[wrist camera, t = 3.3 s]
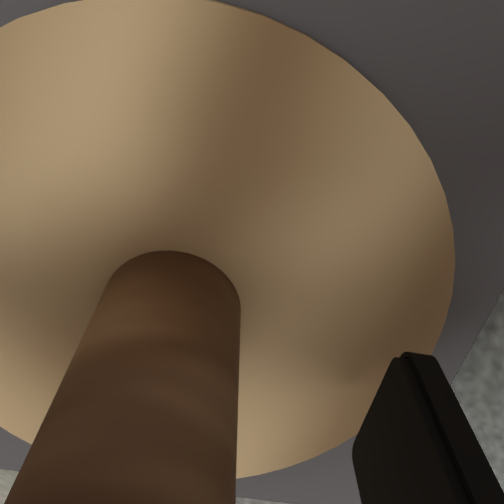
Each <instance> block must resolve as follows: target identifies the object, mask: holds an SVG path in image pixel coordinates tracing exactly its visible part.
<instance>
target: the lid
mask: <svg viewBox="0 0 504 504" xmlns="http://www.w3.org/2000/svg"><path fill="white" fill-rule="evenodd" d="M454 272H455V248H454V233H453V226H452V222H451V217H450V213H449V209H448V204H447V200H446V196H445V193H444V190H443V188H442V185H441V183H440V181H439V178H438V176H437V173H436V171H435V168H434V166H433V163H432V161H431V159H430V157H429V156H428V154H427V153H426V151H425V149H424V148H423V146H422V144H421V143H420V141H419V139H418V138H417V136H416V134H415V133H414V131H413V129H412V128H411V126H410V125H409V124H408V123H407V121H406V120H405V119H404V118H403V117H402V115H401V114H400V113H399V112H398V111H397V110H396V108H395V107H394V106H393V105H392V104H391V102H390V101H389V100H388V99H387V98H386V96H385V95H384V94H383V93H382V92H381V91H380V90H378V89H377V88H376V87H375V86H374V85H373V84H372V83H370V82H369V81H368V80H367V79H366V78H365V77H364V76H363V75H361V74H360V73H359V72H358V71H357V70H356V69H355V68H353V67H352V66H351V65H350V64H349V63H348V62H347V61H345V60H344V59H343V58H342V57H340V56H339V55H337V54H336V53H334V52H333V51H331V50H330V49H328V48H327V47H325V46H323V45H322V44H320V43H319V42H317V41H316V40H314V39H313V38H311V37H310V36H308V35H306V34H305V33H303V32H301V31H299V30H296V29H294V28H292V27H290V26H288V25H286V24H283V23H281V22H279V21H277V20H275V19H272V18H270V17H268V16H266V15H264V14H261V13H257V12H254V11H251V10H247V9H244V8H241V7H237V6H234V5H230V4H227V3H224V2H220V1H216V0H82V1H76V2H69V3H63V4H60V5H57V6H54V7H51V8H48V9H45V10H42V11H39V12H36V13H32V14H29V15H26V16H23V17H20V18H17V19H15V20H14V21H12V22H10V23H8V24H6V25H4V26H2V27H0V427H2V428H3V429H5V430H6V431H8V432H9V433H11V434H13V435H15V436H16V437H18V438H20V439H22V440H24V441H26V442H28V443H30V444H31V448H30V450H29V452H28V454H27V456H26V458H25V460H24V463H23V465H22V467H21V469H20V471H19V473H18V475H17V478H16V480H15V482H14V484H13V486H12V488H11V490H10V492H9V495H8V497H7V499H6V501H5V503H4V504H235V499H236V479H238V478H244V477H250V476H255V475H261V474H265V473H268V472H272V471H276V470H280V469H283V468H287V467H290V466H293V465H295V464H298V463H301V462H303V461H306V460H309V459H312V458H314V457H316V456H318V455H320V454H322V453H324V452H326V451H328V450H331V449H333V448H335V447H337V446H338V445H340V444H342V443H343V442H345V441H347V440H348V439H350V438H351V437H353V436H355V435H356V434H358V432H359V430H360V428H361V425H362V423H363V421H364V419H365V417H366V415H367V412H368V410H369V408H370V406H371V404H372V402H373V399H374V397H375V395H376V393H377V391H378V388H379V386H380V384H381V382H382V380H383V378H384V375H385V373H386V371H387V369H388V367H389V364H390V362H391V361H392V359H393V358H394V357H400V356H401V354H402V353H404V352H413V353H420V354H426V355H431V353H432V352H433V350H434V348H435V346H436V343H437V341H438V338H439V336H440V334H441V331H442V329H443V326H444V324H445V321H446V317H447V313H448V309H449V305H450V301H451V297H452V293H453V283H454Z"/></svg>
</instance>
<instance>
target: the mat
mask: <svg viewBox="0 0 504 504" xmlns="http://www.w3.org/2000/svg"><path fill="white" fill-rule="evenodd" d="M76 1H82V0H0V27H2V26H4V25H6V24H8V23H10V22H12V21H14V20H15V19H17V18H20V17H23V16H26V15H29V14H32V13H36V12H39V11H42V10H45V9H48V8H51V7H54V6H57V5H60V4H63V3H69V2H76ZM216 1H220V2H224V3H227V4H230V5H234V6H237V7H241V8H244V9H247V10H251V11H254V12H257V13H261V14H264V15H266V16H268V17H270V18H272V19H275V20H277V21H279V22H281V23H283V24H286V25H288V26H290V27H292V28H294V29H296V30H299V31H301V32H303V33H305V34H306V35H308V36H310V37H311V38H313V39H314V40H316V41H317V42H319V43H320V44H322V45H323V46H325V47H327V48H328V49H330V50H331V51H333V52H334V53H336V54H337V55H339V56H340V57H342V58H343V59H344V60H345V61H347V62H348V63H349V64H350V65H351V66H352V67H353V68H355V69H356V70H357V71H358V72H359V73H360V74H361V75H363V76H364V77H365V78H366V79H367V80H368V81H369V82H370V83H372V84H373V85H374V86H375V87H376V88H377V89H378V90H380V91H381V92H382V93H383V94H384V95H385V96H386V98H387V99H388V100H389V101H390V102H391V104H392V105H393V106H394V107H395V108H396V110H397V111H398V112H399V113H400V114H401V115H402V117H403V118H404V119H405V120H406V121H407V123H408V124H409V125H410V126H411V128H412V129H413V131H414V133H415V134H416V136H417V138H418V139H419V141H420V143H421V144H422V146H423V148H424V149H425V151H426V153H427V154H428V156H429V157H430V159H431V161H432V163H433V166H434V168H435V171H436V173H437V176H438V178H439V181H440V183H441V185H442V188H443V190H444V193H445V196H446V200H447V204H448V209H449V213H450V217H451V222H452V226H453V233H454V248H455V272H454V283H453V293H452V297H451V301H450V305H449V309H448V313H447V317H446V321H445V324H444V326H443V329H442V331H441V334H440V336H439V338H438V341H437V343H436V346H435V348H434V350H433V352H432V353H431V355H432V356H434V357H435V358H436V359H437V361H438V362H439V364H440V366H441V368H442V370H443V372H444V374H445V376H446V378H447V380H448V382H449V384H451V383H452V381H453V379H454V377H455V375H456V374H457V372H458V370H459V368H460V366H461V365H462V363H463V361H464V359H465V358H466V356H467V354H468V352H469V350H470V349H471V347H472V345H473V343H474V342H475V340H476V338H477V336H478V334H479V333H480V331H481V329H482V327H483V325H484V324H485V322H486V320H487V318H488V317H489V315H490V313H491V311H492V309H493V308H494V306H495V304H496V302H497V301H498V299H499V297H500V295H501V293H502V292H503V290H504V0H216ZM356 436H357V434H356V435H355V436H353V437H351V438H350V439H348V440H347V441H345V442H343V443H342V444H340V445H338V446H337V447H335V448H333V449H331V450H328V451H326V452H324V453H322V454H320V455H318V456H316V457H314V458H312V459H309V460H306V461H303V462H301V463H298V464H295V465H293V466H290V467H287V468H283V469H280V470H276V471H272V472H268V473H265V474H261V475H255V476H250V477H244V478H238V479H236V497H243V498H251V499H259V500H268V501H276V502H285V503H293V504H362V503H361V499H360V494H359V489H358V485H357V480H356V476H355V471H354V466H353V462H352V447H353V443H354V441H355V439H356ZM30 448H31V444H30V443H28V442H26V441H24V440H22V439H20V438H18V437H16V436H15V435H13V434H11V433H9V432H8V431H6V430H5V429H3V428H2V427H0V469H6V470H14V471H20V469H21V467H22V465H23V463H24V460H25V458H26V456H27V454H28V452H29V450H30Z"/></svg>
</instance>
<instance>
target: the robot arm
mask: <svg viewBox="0 0 504 504" xmlns="http://www.w3.org/2000/svg"><path fill="white" fill-rule="evenodd" d="M352 462H353V466H354V471H355V476H356V480H357V485H358V489H359V494H360V499H361V503H362V504H504V492H503V490H502V488H501V486H500V484H499V482H498V480H497V478H496V476H495V474H494V472H493V470H492V468H491V466H490V464H489V462H488V460H487V458H486V456H485V454H484V452H483V450H482V448H481V446H480V444H479V442H478V440H477V438H476V436H475V434H474V432H473V430H472V428H471V426H470V424H469V422H468V420H467V418H466V416H465V414H464V412H463V410H462V408H461V406H460V404H459V402H458V400H457V398H456V396H455V394H454V392H453V390H452V388H451V386H450V384H449V382H448V380H447V378H446V376H445V374H444V372H443V370H442V368H441V366H440V364H439V362H438V361H437V359H436V358H435V357H434V356H432V355H426V354H420V353H413V352H404V353H402V354H401V356H400V357H394V358H393V359H392V361H391V362H390V364H389V367H388V369H387V371H386V373H385V375H384V378H383V380H382V382H381V384H380V386H379V388H378V391H377V393H376V395H375V397H374V399H373V402H372V404H371V406H370V408H369V410H368V412H367V415H366V417H365V419H364V421H363V423H362V425H361V428H360V430H359V432H358V434H357V436H356V439H355V441H354V443H353V447H352Z"/></svg>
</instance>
